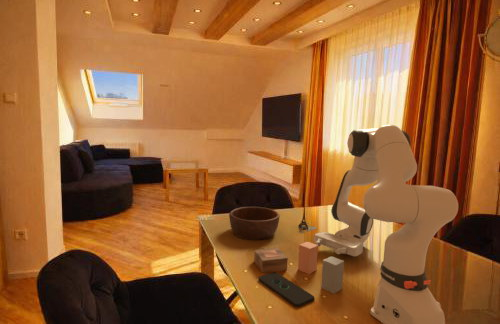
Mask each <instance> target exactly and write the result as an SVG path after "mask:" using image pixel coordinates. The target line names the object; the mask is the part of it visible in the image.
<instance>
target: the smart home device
mask: <svg viewBox="0 0 500 324" xmlns="http://www.w3.org/2000/svg"><path fill="white" fill-rule="evenodd" d="M258 282H259V283H260V284H262V285H264V286H265V287H267V288H268V289H269V290H271V291H272V292H273V293H275V294H276V295H278V296H279V297H281V298H282V299H283V300H285V302H287V303H289V304H290V305H292V306H293V307H294V308H301V307H304V306H305V305H307V304H309V303H313V302H314V301H315V296H314V295H313V294H311V293H310V292H308V291H307V290H305V289H303V288H302V287H300V286H298V285H297V284H296V283H294V282H292V281H291V280H289V279H288V278H286V277H284V276H283V275H282V274H280V273H279V272H277V271H274V272H269V273H266V274H263V275H261V276H259V277H258Z"/></svg>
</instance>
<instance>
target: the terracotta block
mask: <svg viewBox="0 0 500 324" xmlns="http://www.w3.org/2000/svg"><path fill="white" fill-rule="evenodd" d="M318 254H319V247H318V245H316V244H315V243H313V242H309V241H305V242H302V243H300V244H299V246H298V260H297V262H298V264H297V265H298V266H297V270H299V271H300V272H302V273H304V272H305V274H306V273H307V275H310V274H312V272H313V273H315V272H317V267H318ZM314 271H315V272H314Z"/></svg>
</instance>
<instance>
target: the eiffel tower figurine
mask: <svg viewBox="0 0 500 324" xmlns="http://www.w3.org/2000/svg"><path fill="white" fill-rule="evenodd" d="M308 225H309V223H308V222H307V221H306V205H304V206H303V215H302V218H301V221H300V223H299V224H298V230H301V231H299V233H301V234H304V233H307V232H311V231H314V230H316V229H317V227H316V226H314V225H311V226H308ZM302 230H303V231H302ZM304 230H306V231H304Z"/></svg>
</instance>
